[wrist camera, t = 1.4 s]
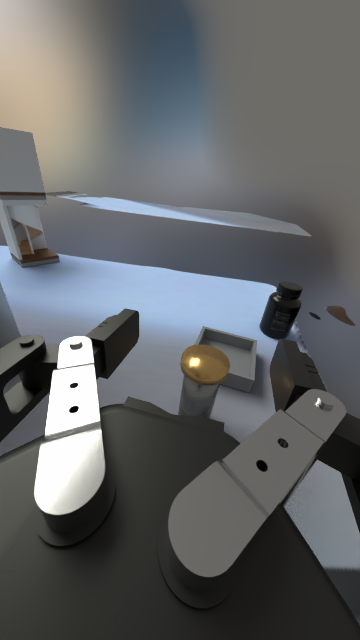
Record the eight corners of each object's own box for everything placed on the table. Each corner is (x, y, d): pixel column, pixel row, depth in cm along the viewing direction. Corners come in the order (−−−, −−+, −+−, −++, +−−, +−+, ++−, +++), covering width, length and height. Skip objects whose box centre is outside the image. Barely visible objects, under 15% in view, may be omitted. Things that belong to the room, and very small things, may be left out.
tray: (186, 373, 39) (187, 360, 38) (200, 337, 48) (203, 326, 47) (249, 393, 37) (254, 380, 35) (252, 352, 46) (256, 340, 44)
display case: (22, 267, 71) (-23, 123, 51) (12, 257, 76) (-32, 125, 57) (59, 261, 78) (32, 132, 59) (47, 252, 84) (18, 133, 64)
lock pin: (167, 431, 30) (174, 369, 24) (180, 399, 35) (189, 339, 28) (207, 446, 29) (226, 385, 22) (215, 411, 34) (232, 352, 27)
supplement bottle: (293, 333, 53) (314, 288, 47) (278, 343, 49) (299, 295, 43) (268, 320, 58) (284, 276, 51) (253, 328, 54) (268, 282, 47)
